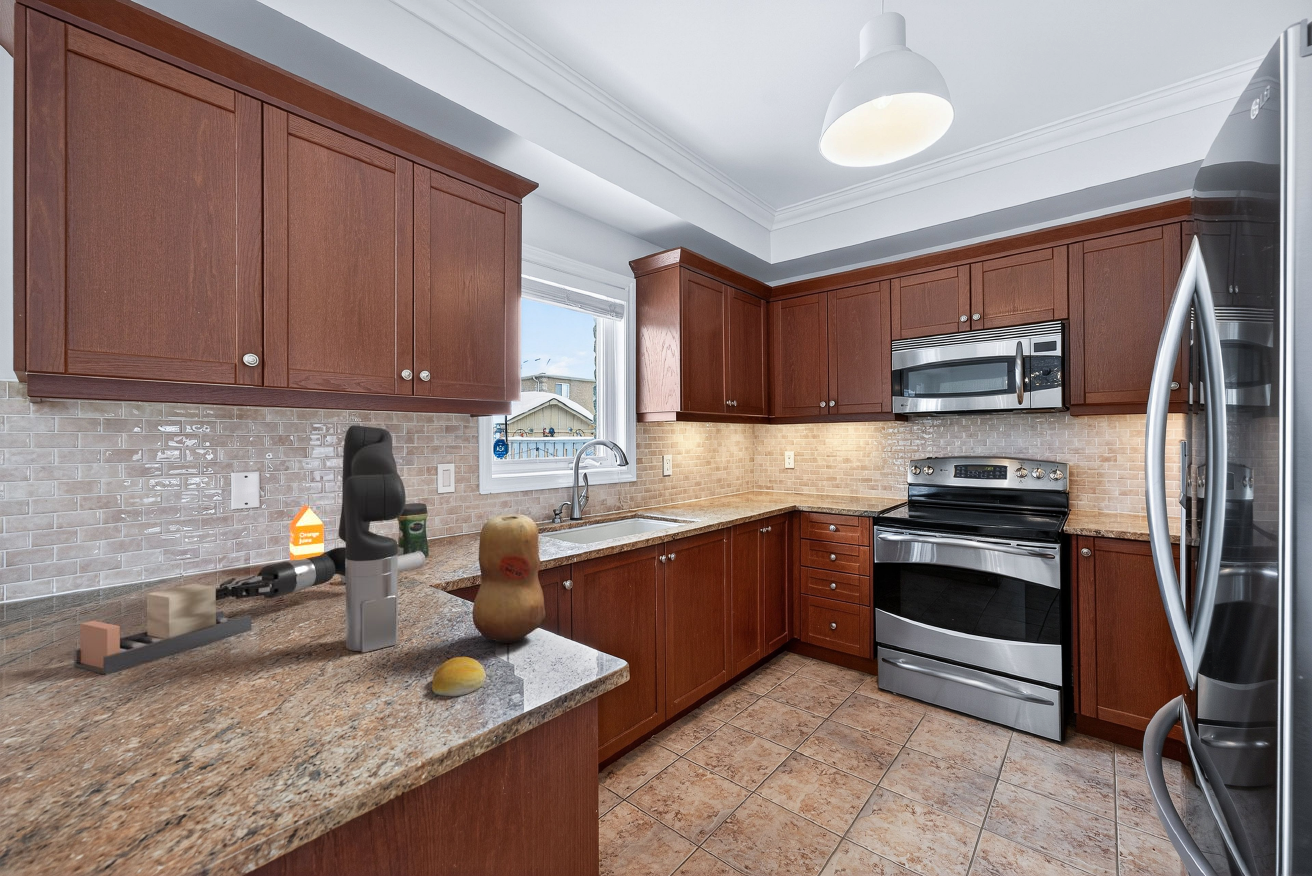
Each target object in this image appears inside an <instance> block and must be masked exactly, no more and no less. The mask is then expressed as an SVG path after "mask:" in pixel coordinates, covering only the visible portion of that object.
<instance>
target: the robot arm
mask: <svg viewBox="0 0 1312 876" xmlns="http://www.w3.org/2000/svg"><path fill="white" fill-rule="evenodd" d="M342 454H343V456H342V476H341V477H342V482H341V483H342V486H341V487H342V493H341V494H342V495H341V496H342V500H341V511H340V518H339V526H338V537H339V538H340V539H341V540H342V541H343V542H345V546H344V547H343V546H342V547H336V548H332V549H329V550H328V551H325V552H323V554H321V555H319V556H315V557H310V558H305V559H296V560H291V561H290V560H286V561H282V562H277V563H272V564H268V565H264V566H263V567H262V568H261V569H260V570H259V573H258V574H257V575H255V574H254V575H253V574H252V575H246V576H245V577H244V578H240V579H237V578H236V577H231V578H229V579H227V580H225V581H224V582H222V583H220V584H219V587H217V588H216V601H220V600H224V599H225V600H226V599H229V600H230V599H231V600H232V599H236V600H240V599H246V598H247V599H248V598H255V597H262V596H263V597H264V598H267V599H275V598H277V597H282V596H286V595H289V594H293V593H296V592H301V591H303V590H305V589H308V588H311V587H315V586H318V585H323V584H325V583H327V582H329V581H331V580H332V579H333V578H334V576H335V575H338V576H340V575H342V576H345V581H346V584H345V647H346V649H348V650H349V651H353V652H354V651H355V652H361V653H367V652H371V651H375V650H379V649H383V648H387V647H392V646H395V645H397V644H398V642H397V641H398V640H399V595H398V593H399V584H398V582H399V580H398V577H399V576H398V574H399V573H398V540H396V539H395V538H393V537H389V536H384V535H380V534H377V533H374V532H372V531H370V526H371V523H372V522H374V523H375V522H383V521H384V522H385V521H386V522H388V521H392V520H393V521H394V520H396V519H397V518H398V517H399V516H400V515H401V514H402V513H403V511H404V508H405V504H407V502H406V501H407V500H406V498H407V495H406V489H405V485H404V482H403V479H402V478H401V476H400V474H399V473H398V466H397V462H396V458H395V457H394V453H393V437H392V435H391V432H390V431H389V430H387V429H385V428H381V427H372V426H364V425H354V424H353V425H351V426H349V427H348V429H347V430H346V433H345V438H344V441H343V453H342Z"/></svg>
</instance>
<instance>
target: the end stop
mask: <svg viewBox="0 0 1312 876" xmlns="http://www.w3.org/2000/svg"><path fill="white" fill-rule="evenodd" d="M120 629H121V627H120V625H116V624H111V623H106V622H101V621H97V620H90V621H86V622H82V623H80V648H81V663H84V664H88V665H92V666H95V667H99V668H103V657H105V656H108V655H112V654H115V653H119V652H120V637H121V635H120V632H121V631H120Z"/></svg>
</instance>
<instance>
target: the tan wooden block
mask: <svg viewBox="0 0 1312 876" xmlns="http://www.w3.org/2000/svg"><path fill="white" fill-rule="evenodd" d="M146 599H147V600H146V610H147V611H146V615H147V616H146V618H147V619H146V622H147V624H146V625H147V626H146V627H147V629H146V630H147V635H150V636H155V637H160V638H164V639H168V638H171V637H175V636H178V635H182V634H185V633H189V632H192V631H196V630H199V629H203V628H206V627H210V626H213V625H216V612H217V611H216V610H217V609H216V608H217V606H216V605H217V603H216V586H212V585H207V584H206V585H205V584H199V583H191V584H186V585H182V586H177V587H172V588H168V589H164V590H159V591H158V590H157V591H154V592H150V593H146Z"/></svg>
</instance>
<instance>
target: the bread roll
mask: <svg viewBox="0 0 1312 876" xmlns="http://www.w3.org/2000/svg"><path fill="white" fill-rule="evenodd" d="M486 678H487V674H486V671H485V669H484V666H483V665H482V664H481V663H480V662H479V661H478V660H477V659H474V658H472V657H468V656H457V657H452V658H449V659H448V660H446V661H444V662H443V663H441V665H439V666H438V667H437V668H436V670H435V671H434V673H433V676H432V685H431V689H432V692H433V693H434V694H436V695H438V696H442V697H443V696H444V697H460V696H465V695H467V694H470V693H472V692H474V691H477V690H479V689H480V688H481V687H482V686H483V685H484V684H485V683H486Z"/></svg>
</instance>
